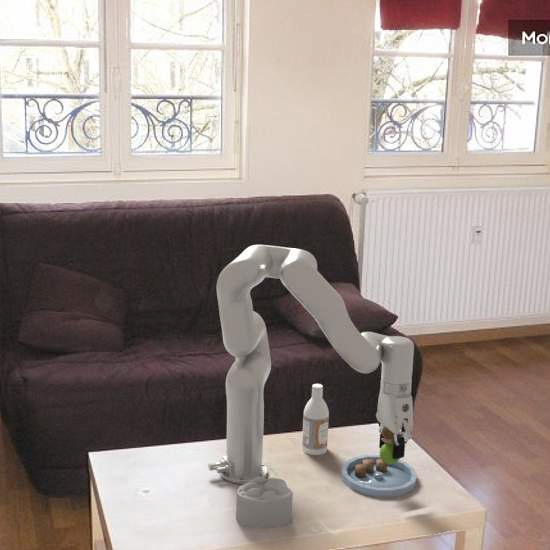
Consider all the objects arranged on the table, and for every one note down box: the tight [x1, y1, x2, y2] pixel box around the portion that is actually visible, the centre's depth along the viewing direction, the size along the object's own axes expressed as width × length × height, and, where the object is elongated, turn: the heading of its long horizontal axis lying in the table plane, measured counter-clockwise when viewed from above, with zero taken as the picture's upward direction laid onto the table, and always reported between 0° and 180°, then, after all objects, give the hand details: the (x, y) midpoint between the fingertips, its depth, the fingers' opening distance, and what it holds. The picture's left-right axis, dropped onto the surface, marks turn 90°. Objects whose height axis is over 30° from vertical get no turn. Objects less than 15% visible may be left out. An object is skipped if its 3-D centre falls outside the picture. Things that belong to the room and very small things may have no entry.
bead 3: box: [376, 459, 388, 473], centre depth 234 cm, size 3×3×2 cm
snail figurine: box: [379, 427, 402, 464], centre depth 223 cm, size 5×6×12 cm
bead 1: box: [355, 464, 367, 478], centre depth 231 cm, size 3×3×2 cm
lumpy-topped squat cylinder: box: [235, 476, 294, 529], centre depth 211 cm, size 10×13×9 cm
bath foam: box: [301, 383, 330, 456], centre depth 243 cm, size 7×7×20 cm
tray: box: [340, 454, 418, 498], centre depth 230 cm, size 19×19×3 cm
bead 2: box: [363, 459, 374, 473], centre depth 234 cm, size 3×3×2 cm
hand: (391, 452), depth 224 cm, fingers closed on snail figurine, 5 cm apart
